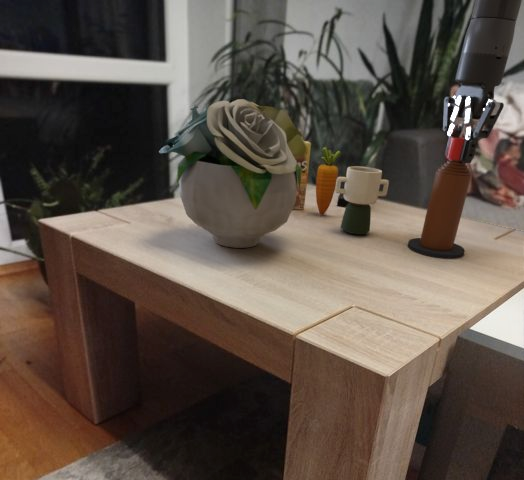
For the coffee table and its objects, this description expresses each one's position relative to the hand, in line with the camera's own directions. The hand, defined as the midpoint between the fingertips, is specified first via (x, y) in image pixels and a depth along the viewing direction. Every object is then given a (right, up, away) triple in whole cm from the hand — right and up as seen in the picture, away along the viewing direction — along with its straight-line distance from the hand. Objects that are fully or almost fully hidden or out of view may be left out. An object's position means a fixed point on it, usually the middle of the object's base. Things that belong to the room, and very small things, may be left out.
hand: (457, 160), depth 92 cm
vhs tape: (-12, +5, +42) cm, 44 cm away
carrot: (-22, -3, +27) cm, 35 cm away
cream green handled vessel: (-16, -10, +15) cm, 24 cm away
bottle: (-1, -14, +8) cm, 16 cm away
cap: (0, 0, 0) cm, 0 cm away
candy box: (-30, 0, +31) cm, 43 cm away
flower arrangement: (-41, -15, +3) cm, 43 cm away
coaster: (-1, -15, +8) cm, 17 cm away
